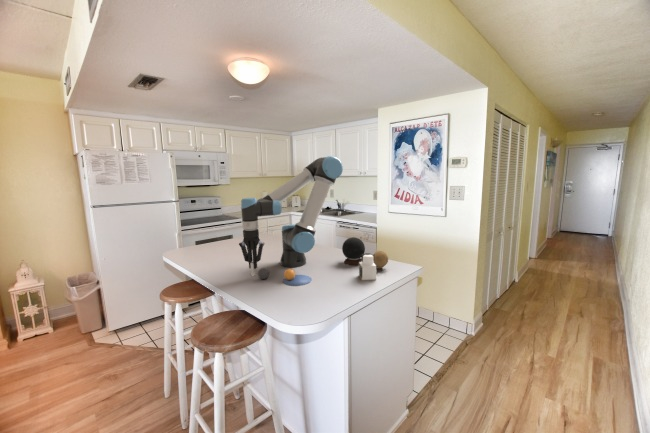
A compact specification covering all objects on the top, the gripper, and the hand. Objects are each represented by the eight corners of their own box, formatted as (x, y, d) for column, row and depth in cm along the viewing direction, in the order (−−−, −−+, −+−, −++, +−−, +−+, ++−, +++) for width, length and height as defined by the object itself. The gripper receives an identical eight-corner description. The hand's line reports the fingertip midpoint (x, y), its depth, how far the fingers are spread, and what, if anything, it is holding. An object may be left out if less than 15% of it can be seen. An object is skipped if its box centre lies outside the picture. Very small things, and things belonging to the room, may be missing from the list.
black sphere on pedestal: (339, 265, 163) (339, 239, 161) (345, 258, 175) (345, 234, 173) (362, 267, 158) (362, 240, 156) (367, 260, 170) (367, 235, 168)
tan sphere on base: (390, 271, 151) (390, 252, 149) (373, 271, 150) (373, 253, 149) (385, 265, 160) (385, 248, 158) (369, 266, 159) (369, 249, 158)
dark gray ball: (259, 268, 147) (263, 278, 148) (254, 272, 142) (259, 282, 142) (268, 265, 146) (272, 274, 146) (263, 269, 140) (268, 279, 141)
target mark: (314, 275, 147) (314, 275, 147) (307, 286, 133) (307, 286, 133) (288, 274, 149) (288, 274, 149) (279, 285, 136) (279, 284, 136)
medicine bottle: (359, 275, 146) (358, 252, 144) (372, 274, 146) (372, 251, 145) (362, 280, 139) (361, 256, 137) (376, 279, 139) (376, 255, 138)
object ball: (284, 268, 145) (287, 278, 145) (281, 272, 139) (284, 282, 140) (294, 266, 144) (297, 276, 144) (291, 270, 138) (294, 280, 139)
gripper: (234, 230, 139) (238, 276, 143) (259, 230, 137) (262, 277, 140) (242, 227, 147) (245, 271, 150) (266, 227, 144) (268, 272, 148)
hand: (253, 274), depth 145 cm, fingers closed
